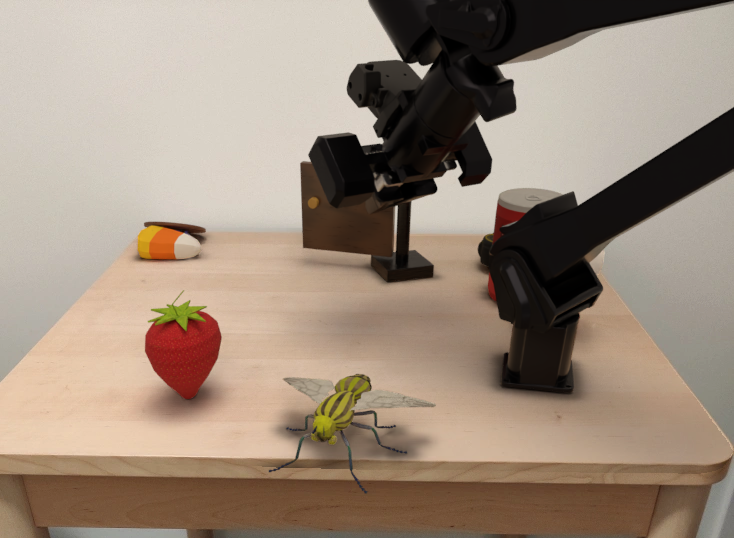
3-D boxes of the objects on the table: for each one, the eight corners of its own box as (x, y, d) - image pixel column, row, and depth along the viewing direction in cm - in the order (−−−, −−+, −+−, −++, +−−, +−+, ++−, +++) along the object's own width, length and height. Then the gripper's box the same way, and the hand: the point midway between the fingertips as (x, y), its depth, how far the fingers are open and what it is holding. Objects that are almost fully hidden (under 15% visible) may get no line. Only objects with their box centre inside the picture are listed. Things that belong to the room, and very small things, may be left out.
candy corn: (133, 261, 95) (193, 270, 94) (130, 239, 93) (191, 247, 92) (152, 242, 100) (210, 250, 99) (149, 220, 98) (208, 228, 97)
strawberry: (240, 384, 68) (231, 277, 63) (199, 424, 63) (184, 310, 57) (183, 374, 70) (169, 268, 64) (138, 411, 64) (118, 299, 58)
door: (393, 254, 93) (397, 168, 87) (390, 259, 91) (393, 171, 85) (305, 245, 95) (302, 160, 89) (300, 250, 94) (297, 164, 88)
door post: (414, 261, 96) (420, 160, 89) (433, 277, 91) (440, 172, 84) (370, 266, 94) (372, 164, 87) (387, 282, 90) (391, 176, 83)
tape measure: (541, 267, 95) (546, 237, 93) (515, 281, 91) (519, 250, 88) (494, 255, 98) (498, 226, 96) (466, 268, 94) (469, 238, 92)
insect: (439, 425, 63) (444, 371, 60) (399, 502, 54) (402, 445, 51) (295, 397, 66) (292, 345, 63) (237, 466, 58) (231, 410, 55)
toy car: (135, 220, 97) (135, 232, 97) (196, 224, 96) (196, 236, 97) (155, 228, 105) (155, 239, 105) (211, 231, 104) (211, 243, 105)
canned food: (534, 281, 91) (549, 185, 84) (566, 306, 84) (584, 205, 78) (475, 286, 89) (486, 189, 82) (503, 312, 83) (516, 209, 76)
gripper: (486, 24, 71) (409, 133, 84) (316, 32, 62) (262, 152, 76) (533, 129, 70) (449, 222, 84) (368, 152, 61) (304, 251, 75)
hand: (369, 209), depth 80 cm, fingers closed
